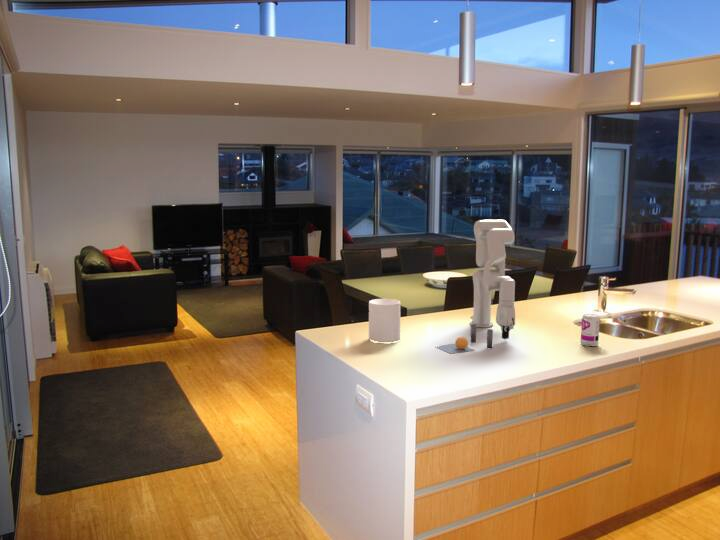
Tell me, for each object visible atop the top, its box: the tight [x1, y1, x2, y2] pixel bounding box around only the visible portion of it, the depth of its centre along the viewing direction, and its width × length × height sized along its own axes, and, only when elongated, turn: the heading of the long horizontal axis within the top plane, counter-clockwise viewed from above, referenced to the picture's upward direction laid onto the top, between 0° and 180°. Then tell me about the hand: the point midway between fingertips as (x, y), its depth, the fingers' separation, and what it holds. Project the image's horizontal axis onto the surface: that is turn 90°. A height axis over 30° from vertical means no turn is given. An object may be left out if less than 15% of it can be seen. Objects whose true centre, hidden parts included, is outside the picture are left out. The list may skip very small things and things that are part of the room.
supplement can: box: [580, 313, 601, 347], centre depth 312 cm, size 8×8×15 cm
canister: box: [368, 298, 402, 342], centre depth 320 cm, size 16×16×20 cm
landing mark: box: [436, 343, 475, 355], centre depth 306 cm, size 14×14×1 cm
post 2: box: [486, 328, 494, 349], centre depth 306 cm, size 3×3×9 cm
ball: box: [454, 336, 469, 349], centre depth 304 cm, size 6×6×6 cm
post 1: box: [470, 324, 477, 343], centre depth 318 cm, size 3×3×9 cm
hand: (505, 338), depth 319 cm, fingers closed
